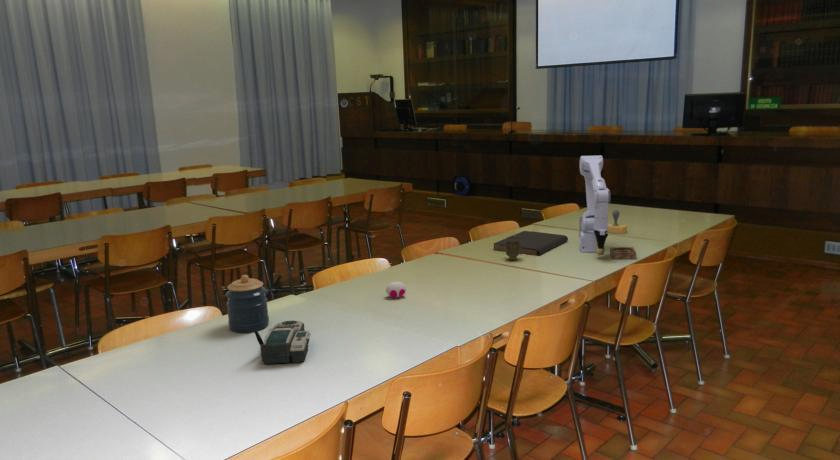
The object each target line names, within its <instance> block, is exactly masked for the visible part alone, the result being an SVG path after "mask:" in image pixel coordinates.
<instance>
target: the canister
mask: <svg viewBox="0 0 840 460" xmlns="http://www.w3.org/2000/svg"><path fill="white" fill-rule="evenodd" d="M227 289H228V291H226V293H225V297H226V298H227V302H226V307H227V309H226V310H227V317H228V318H227V319H228V322H227V323H228V328H229V329H230V331H232V332H234V333H243V334H245V333H255V332H254V331H255V330H257V331H258V332H259V331H261V330H263V329H265V328H268V326H269V323H270V316H269V310H268V297H266V293H267V288H266V287H264V282H263V281H261V280H259V279H258V278H257V279H256V278H253V277H251V278H250V277H249V275H247V274H242V275H241V277H240V278H239V279H236V280H234V281H232V282H231V283H230V284H229V285H227Z"/></svg>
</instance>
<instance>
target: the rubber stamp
mask: <svg viewBox="0 0 840 460" xmlns="http://www.w3.org/2000/svg"><path fill="white" fill-rule="evenodd" d="M619 217H620V211H619V210H618V209H613V210H612V218H613V222H614V223H608V227H610V228H611V229H608V230H607V233H608V234H609V233H610V234H615V235H616V234H617V235H625V234H627V233H628V225H625V224H624V225H623V224H618V220H619Z"/></svg>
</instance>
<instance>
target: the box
mask: <svg viewBox="0 0 840 460" xmlns="http://www.w3.org/2000/svg"><path fill="white" fill-rule="evenodd" d="M609 255H610V257H611V259H612V260H637V252H636V250H635V248H634V247H632V246H630V247H629V246H627V247H625V246H610V247H609Z"/></svg>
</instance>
